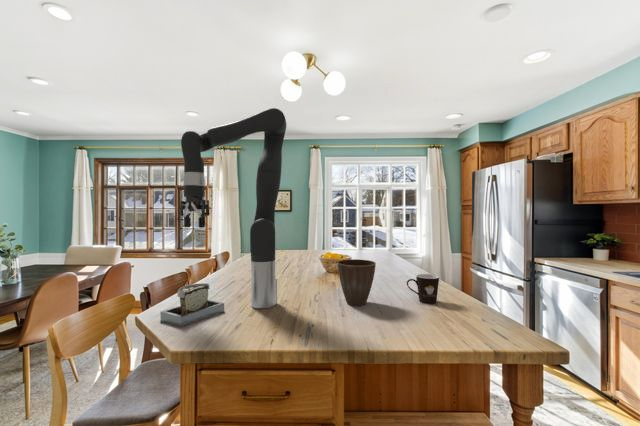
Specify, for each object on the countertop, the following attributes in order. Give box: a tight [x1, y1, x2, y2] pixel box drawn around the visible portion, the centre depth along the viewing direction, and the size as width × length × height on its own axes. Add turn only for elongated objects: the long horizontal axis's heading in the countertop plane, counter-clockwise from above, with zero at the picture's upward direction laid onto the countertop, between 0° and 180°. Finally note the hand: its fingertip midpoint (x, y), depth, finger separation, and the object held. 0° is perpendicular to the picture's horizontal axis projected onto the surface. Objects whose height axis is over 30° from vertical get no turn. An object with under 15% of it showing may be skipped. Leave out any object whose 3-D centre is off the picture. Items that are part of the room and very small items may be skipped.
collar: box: [160, 299, 225, 328], centre depth 102 cm, size 17×11×3 cm, turn 149°
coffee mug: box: [406, 273, 440, 305], centre depth 118 cm, size 12×9×10 cm
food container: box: [177, 282, 210, 316], centre depth 103 cm, size 12×6×10 cm, turn 160°
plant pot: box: [336, 258, 377, 307], centre depth 115 cm, size 15×15×16 cm
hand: (194, 227), depth 113 cm, fingers open, 8 cm apart
